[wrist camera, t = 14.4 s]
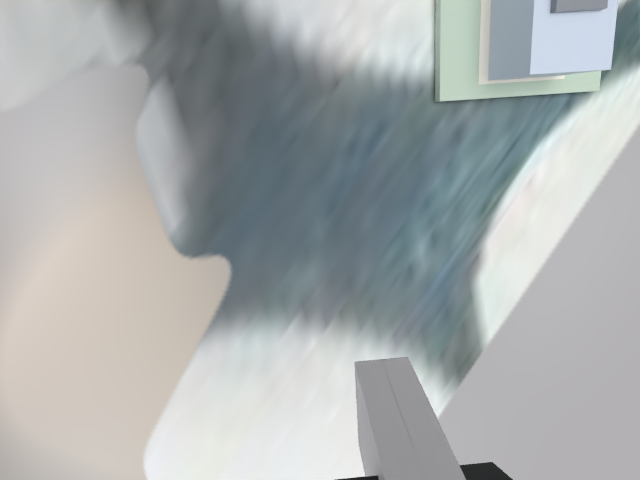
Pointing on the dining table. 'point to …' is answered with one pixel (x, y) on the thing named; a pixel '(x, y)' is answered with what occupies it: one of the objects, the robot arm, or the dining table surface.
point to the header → (484, 59)
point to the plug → (550, 37)
